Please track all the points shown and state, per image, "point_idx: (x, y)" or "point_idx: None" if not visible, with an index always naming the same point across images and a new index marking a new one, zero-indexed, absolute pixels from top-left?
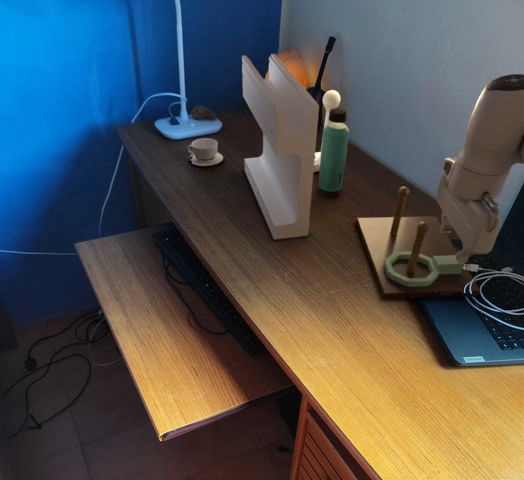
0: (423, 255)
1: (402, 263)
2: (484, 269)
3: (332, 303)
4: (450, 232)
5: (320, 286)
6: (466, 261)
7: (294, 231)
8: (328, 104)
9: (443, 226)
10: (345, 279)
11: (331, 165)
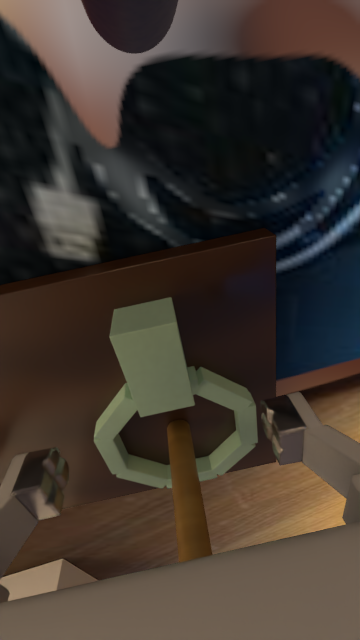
0: (112, 420)
1: (146, 443)
2: (61, 157)
3: (276, 501)
4: (49, 460)
5: (229, 519)
6: (300, 395)
7: (76, 585)
8: None
9: (46, 518)
10: (204, 498)
11: None
